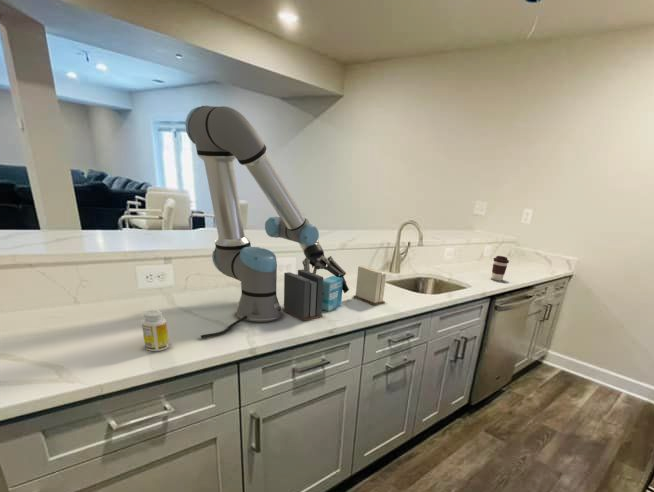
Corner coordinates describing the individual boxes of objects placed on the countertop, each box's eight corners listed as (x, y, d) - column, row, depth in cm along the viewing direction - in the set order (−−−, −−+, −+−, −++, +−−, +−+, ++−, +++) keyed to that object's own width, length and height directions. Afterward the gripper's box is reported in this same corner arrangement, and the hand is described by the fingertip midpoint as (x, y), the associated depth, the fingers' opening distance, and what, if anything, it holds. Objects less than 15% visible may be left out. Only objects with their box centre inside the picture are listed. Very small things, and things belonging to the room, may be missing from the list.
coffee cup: (504, 282, 249) (509, 259, 243) (489, 279, 250) (494, 256, 244) (504, 279, 258) (509, 257, 252) (489, 276, 259) (494, 254, 253)
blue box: (327, 312, 151) (329, 282, 146) (317, 309, 152) (319, 280, 147) (341, 304, 162) (343, 277, 157) (331, 302, 163) (333, 275, 158)
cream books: (374, 305, 167) (377, 273, 161) (353, 297, 174) (356, 266, 169) (384, 303, 172) (388, 271, 167) (364, 295, 179) (367, 264, 174)
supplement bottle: (170, 343, 109) (166, 309, 106) (167, 351, 105) (163, 316, 101) (147, 344, 107) (142, 309, 103) (143, 352, 103) (138, 316, 99)
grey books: (304, 320, 139) (305, 279, 133) (283, 310, 146) (283, 270, 140) (322, 316, 145) (324, 277, 139) (301, 307, 153) (302, 269, 147)
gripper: (330, 251, 167) (351, 293, 165) (281, 255, 149) (305, 303, 147) (339, 241, 162) (361, 285, 160) (290, 244, 144) (314, 293, 142)
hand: (334, 293), depth 153 cm, fingers closed on blue box, 13 cm apart
